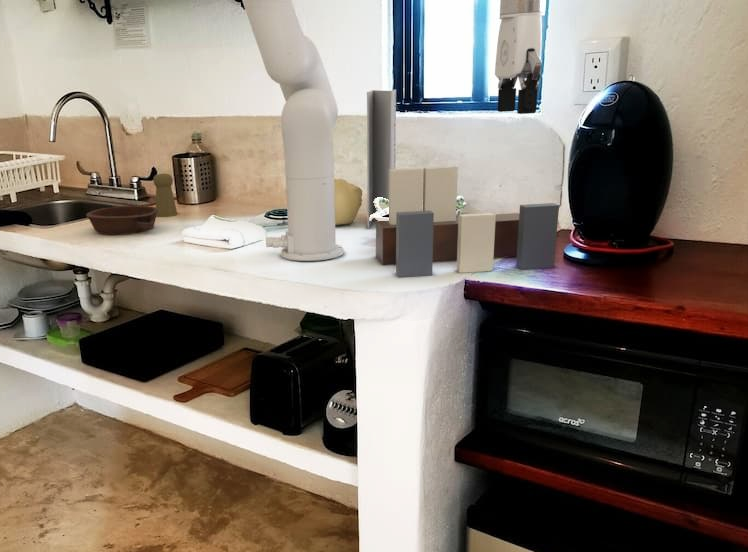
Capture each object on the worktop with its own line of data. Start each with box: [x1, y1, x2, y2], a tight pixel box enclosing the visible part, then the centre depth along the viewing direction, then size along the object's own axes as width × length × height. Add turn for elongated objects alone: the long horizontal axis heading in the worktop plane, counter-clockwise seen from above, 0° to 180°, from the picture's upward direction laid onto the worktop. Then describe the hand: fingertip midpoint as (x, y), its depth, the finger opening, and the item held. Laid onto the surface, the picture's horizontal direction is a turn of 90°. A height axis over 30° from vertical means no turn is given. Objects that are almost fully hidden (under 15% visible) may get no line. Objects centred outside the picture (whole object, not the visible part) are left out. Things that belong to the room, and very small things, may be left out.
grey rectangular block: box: [515, 202, 560, 270], centre depth 136 cm, size 6×3×11 cm, turn 94°
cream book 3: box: [456, 212, 496, 274], centre depth 136 cm, size 6×2×10 cm, turn 94°
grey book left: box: [395, 210, 434, 278], centre depth 136 cm, size 6×3×11 cm, turn 94°
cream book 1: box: [389, 167, 423, 225], centre depth 144 cm, size 6×2×10 cm, turn 94°
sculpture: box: [334, 178, 363, 226], centre depth 185 cm, size 12×12×11 cm
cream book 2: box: [422, 165, 459, 222], centre depth 145 cm, size 6×2×10 cm, turn 94°
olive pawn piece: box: [152, 173, 178, 218], centre depth 211 cm, size 6×6×11 cm
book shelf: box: [375, 212, 519, 266], centre depth 148 cm, size 28×7×7 cm, turn 94°
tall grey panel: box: [366, 88, 397, 230], centre depth 180 cm, size 14×6×30 cm, turn 168°
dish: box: [85, 205, 158, 235], centre depth 192 cm, size 18×22×5 cm
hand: (515, 112), depth 140 cm, fingers open, 9 cm apart
